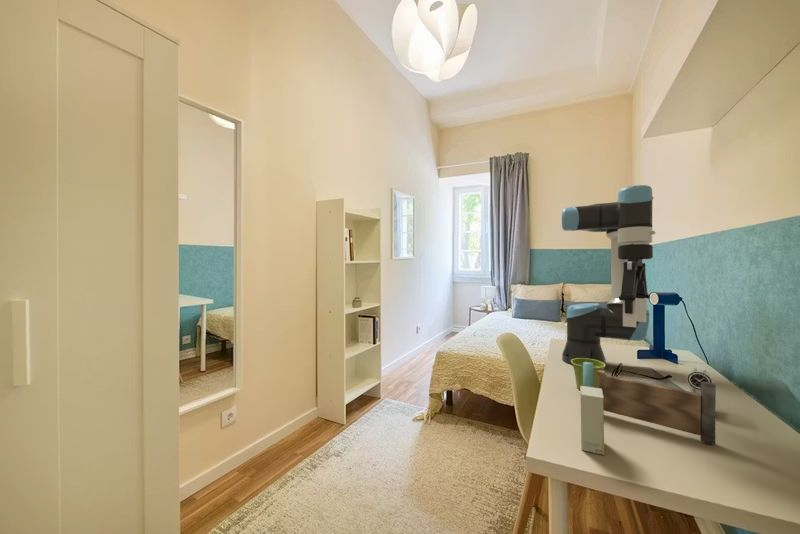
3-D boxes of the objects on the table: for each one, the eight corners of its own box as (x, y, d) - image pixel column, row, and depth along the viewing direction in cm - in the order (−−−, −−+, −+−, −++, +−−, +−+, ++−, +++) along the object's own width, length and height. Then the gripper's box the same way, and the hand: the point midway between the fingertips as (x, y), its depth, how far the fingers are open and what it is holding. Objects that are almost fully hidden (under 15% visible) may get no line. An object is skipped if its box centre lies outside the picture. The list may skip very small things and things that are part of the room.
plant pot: (604, 398, 95) (603, 369, 95) (568, 391, 101) (568, 363, 101) (606, 388, 103) (606, 361, 102) (573, 381, 108) (573, 356, 108)
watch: (684, 411, 86) (684, 371, 86) (687, 402, 92) (687, 364, 92) (713, 418, 82) (714, 376, 82) (715, 408, 88) (715, 368, 88)
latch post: (584, 407, 89) (584, 361, 89) (594, 410, 88) (594, 363, 87) (582, 411, 87) (582, 363, 87) (592, 413, 86) (592, 365, 86)
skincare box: (604, 456, 67) (604, 398, 67) (580, 450, 69) (580, 394, 69) (602, 441, 73) (602, 388, 73) (580, 436, 75) (580, 384, 75)
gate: (715, 441, 72) (715, 383, 72) (715, 445, 70) (715, 386, 70) (599, 410, 87) (598, 362, 87) (597, 413, 85) (597, 365, 85)
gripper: (643, 239, 75) (643, 331, 74) (659, 246, 92) (660, 321, 92) (606, 241, 80) (606, 327, 80) (628, 248, 98) (628, 318, 97)
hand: (635, 324), depth 86 cm, fingers open, 13 cm apart
